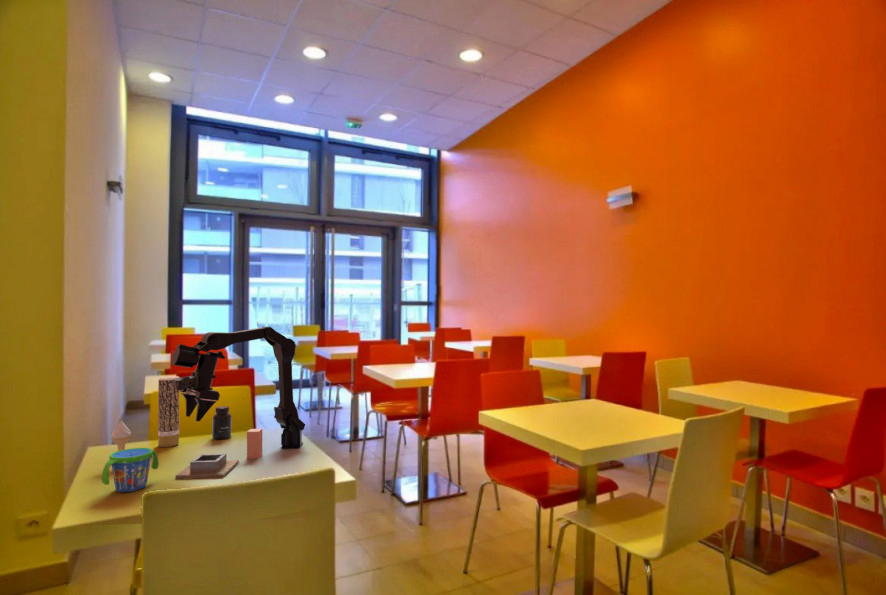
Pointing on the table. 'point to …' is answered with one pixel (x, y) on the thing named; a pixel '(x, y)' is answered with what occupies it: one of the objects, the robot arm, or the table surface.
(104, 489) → the table surface
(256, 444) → the red post
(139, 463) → the snack cup
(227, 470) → the square socket base
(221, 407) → the supplement bottle
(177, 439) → the paper tube
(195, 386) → the robot arm
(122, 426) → the ice cream cone
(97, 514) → the table surface
